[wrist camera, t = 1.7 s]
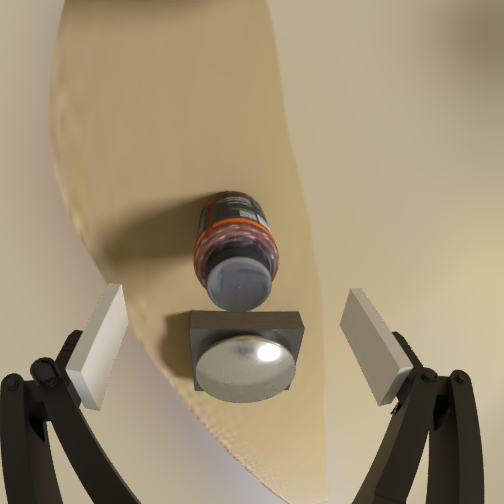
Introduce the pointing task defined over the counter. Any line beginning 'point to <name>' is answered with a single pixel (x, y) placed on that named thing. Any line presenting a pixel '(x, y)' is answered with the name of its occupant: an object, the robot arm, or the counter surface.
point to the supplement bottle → (235, 252)
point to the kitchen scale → (244, 353)
